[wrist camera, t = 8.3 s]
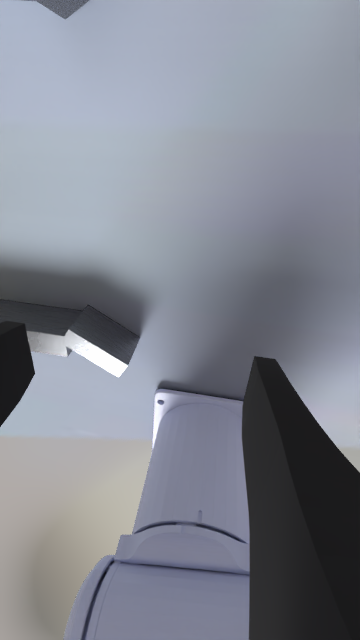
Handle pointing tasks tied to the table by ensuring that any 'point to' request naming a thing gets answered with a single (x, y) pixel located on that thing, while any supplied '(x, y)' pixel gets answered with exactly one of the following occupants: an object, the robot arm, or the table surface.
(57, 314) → the grey square frame
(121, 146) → the table surface
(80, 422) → the table surface
